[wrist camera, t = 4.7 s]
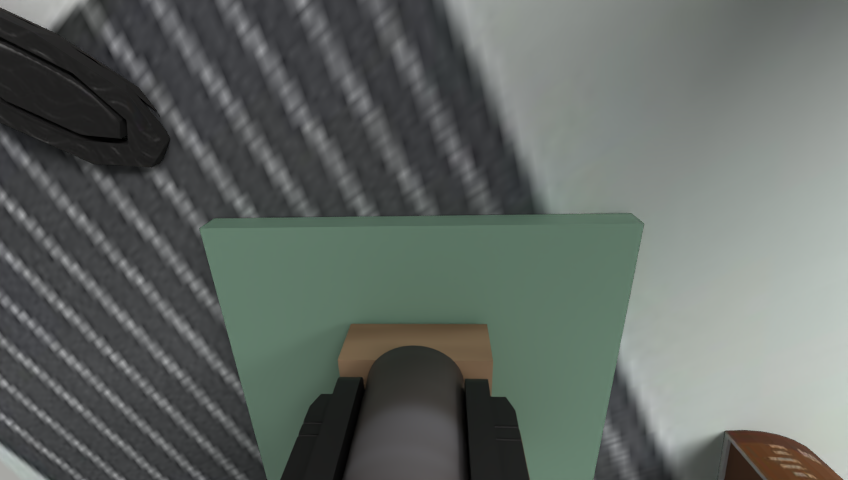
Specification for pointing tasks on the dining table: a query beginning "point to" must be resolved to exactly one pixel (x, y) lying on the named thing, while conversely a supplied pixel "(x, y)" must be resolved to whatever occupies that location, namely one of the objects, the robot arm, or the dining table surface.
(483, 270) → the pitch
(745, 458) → the food container
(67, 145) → the hairbrush
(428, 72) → the dining table surface
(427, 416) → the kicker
